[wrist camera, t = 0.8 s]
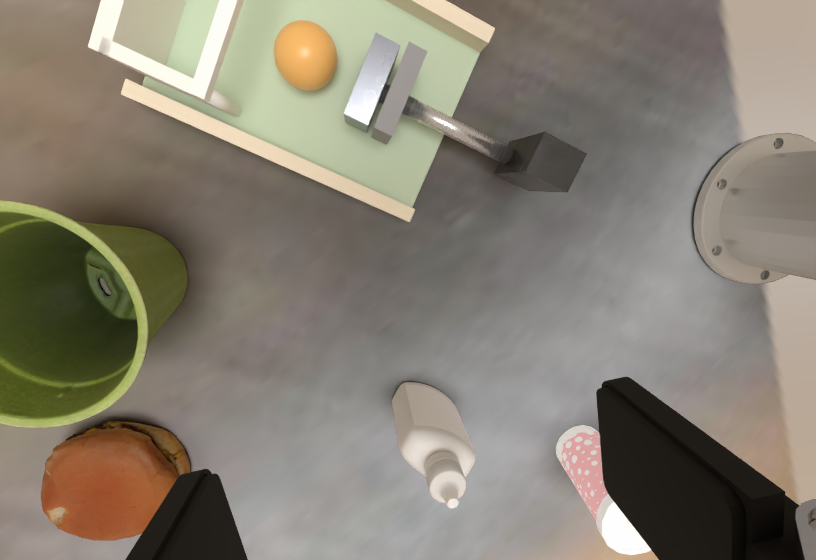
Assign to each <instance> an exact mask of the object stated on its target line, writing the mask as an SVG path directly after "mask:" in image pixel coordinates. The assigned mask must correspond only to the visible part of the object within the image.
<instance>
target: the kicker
mask: <svg viewBox="0 0 816 560" xmlns="http://www.w3.org/2000/svg"><path fill="white" fill-rule="evenodd" d="M399 48H400V45H399V44H397V43H395V42H393V41H391V40H389V39H388V38H386V37H384V36H382V35H380V34H378V33H375V36H374V38H373V41H372V43H371V46H370V48H369V51H368V53H367V56H366V58H365V61H364V64H363V66H362V69H361V71H360V74H359V76H358V79H357V81H356V84H355V86H354V89H353V91H352V94H351V96H350V99H349V101H348V104H347V107H346V109H345V112H344V117H345V121H346V123H347V124H349V125H351V126H353V127H355V128H357V129H360V130H362V131H364V132H366V133H367V131H368V129H369V126H370V124H371V122H372V119H373V117H374V114H375V112H376V109H377V107H378V104H379V102H380V103H382V104H384V101H385V99H386V96H387V94H388V91H389V89H390V87H391V86H389V85H387V82H388V80H389V77H390V75H391V73H392V70H393V68H394V65H395V62H396V59H397V55H398V52H399ZM402 114H404V115H406V116H408V117H410V118H412V119H414V120H416V121H418V122H420V123H422V124H424V125H426V126H428V127H430V128H432V129H434V130H436V131H438V132H440V133H442V134H444V135H446V136H448V137H450V138H452V139H454V140H456V141H458V142H460V143H462V144H464V145H466V146H468V147H470V148H472V149H474V150H476V151H478V152H480V153H482V154H484V155H486V156H488V157H490V158H492V159H494V160H496V161H498V162H500V164H499V166H498V168H497V170H496V172H495V174H496V175H498V176H500V177H502V178H504V179H506V180H508V181H510V182H512V183H514V184H516V185H518V186H520V187H522V188H524V189H526V190H528V191H546V192H568V190H569V188H570V186H571V184H572V182H573V180H574V178H575V176H576V174H577V172H578V170H579V168H580V166H581V164H582V162H583V160H584V158H585V156H586V153H584V152H583V151H581V150H579V149H577V148H575V147H573V146H571V145H569V144H567V143H565V142H564V141H562V140H560V139H558V138H556V137H554V136H552V135H550V134H548V133H546V132H543V133H539V134H536V135H532V136H529V137H525V138H522V139H518V140H515V141H511V142H509V144H508V146H507V145H505V144H503V143H501V142H499V141H497V140H496V139H494V138H492V137H490V136H488V135H486V134H484V133H482V132H480V131H478V130H476V129H474V128H472V127H470V126H468V125H466V124H464V123H462V122H460V121H458V120H456V119H454V118H452V117H450V116H448V115H446V114H444V113H442V112H440V111H438V110H436V109H435V108H433V107H431V106H429V105H427V104H425V103H423V102H421V101H419V100H417V99H415V98H413V97H411V96H409V97H408V99H407V102H406V104H405V107H404V109H403V111H402Z"/></svg>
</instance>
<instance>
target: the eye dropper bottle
mask: <svg viewBox="0 0 816 560" xmlns="http://www.w3.org/2000/svg"><path fill="white" fill-rule="evenodd" d="M392 407H393V414H394V421H395V427H396V434H397V440H398V445H399V449H400V452H401V454H402V456H403V457H404V458H405V459H406V461H407V462H408V463H409V464H410V465H411V466H413V467H414V468H415V469H416V470H418V471H419V472H421V473H422V474H424V475H426V478H427V483H428V487H429V492H430V494H431V496H432V497H433V498H434V499H435V500H437V501H439V502H443V503H446V504H447V506H448V507H449V508H456V507H457V506H458V499H459V498H460V497H461V496H462V495H463V493H464V492H465V489H466V479H465V477H466V476H467V474H468V473H469V472H470V470H471V468H472V467H473V465H474V462H475V458H476V456H475V452H474V450H473V447H472V444H471V442H470V439H469V437H468V435H467V432H466V430H465V428H464V425H463V423H462V421H461V418H460V416H459V414H458V411H457V409H456V407H455V405H454V403H453V402H452V401H451V400H450V399H449V398H448V397H447V396H446V395H445V394H444V393H442V392H441V391H439V390H437V389H436V388H434V387H431V386H429V385H425V384H421V383H415V382H405V383H402V384H401V385H400V386H399V388H398V390H397V392H396V393H395V395H394V397H393V399H392Z"/></svg>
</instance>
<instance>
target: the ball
mask: <svg viewBox="0 0 816 560" xmlns="http://www.w3.org/2000/svg"><path fill="white" fill-rule="evenodd" d="M274 60H275V63H276V66H277V68H278V71H279V72H280V74H281V75H282V77H283V78H284V79H285V80H286V81H287V82H288V83H289V84H291V85H292V86H294V87H296V88H298V89H301V90H307V91H312V90H317V89H320V88H322V87H324V86H325V85H327V84H328V83H329V82H330V80H331V79H332V78H333V76H334V74H335V72H336V69H337V61H338V57H337V50H336V47H335V44H334V42H333V40H332V38H331V36H330V35H329V34H328V32H327V31H326V30H325V29H324V28H322V27H321V26H320V25H318V24H316V23H314V22H311V21H307V20H297V21H293V22H291V23H289V24H287V25H286V26H284V27H283V28H282V29H281V31H280V32H279V33H278V35H277V37H276V40H275V43H274Z"/></svg>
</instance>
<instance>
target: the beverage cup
mask: <svg viewBox="0 0 816 560" xmlns="http://www.w3.org/2000/svg"><path fill="white" fill-rule="evenodd" d="M556 455H557V457H558V459H559V461H560V463H561V464H562V466H563V467H564V469H565V471H566V472H567V474H568V476H569V477H570V479H571V481H572V482H573V484H574V485H575V487H576V489H577V490H578V492H579V494H580V495H581V497H582V498H583V500H584V502H585V503H586V505H587V507H588V508H589V510H590V512H591V513H592V515H593V516H594V518H595V520H596V521H597V528H598V530H599V531H600V533H601V535H602V537H603V538H604V540H605V542H606V544H607V545H608V546H609V547H611V548H612V549H614V550H615V551H617V552H618V553H623V554H629V555H635V554H640V553H645V552H648V551H650V550H651V549H650V547H649V546H648V545H647V543H646V542H645V541H644V540H643V538H642V537H641V536H640V534H639V533H638V532H637V531H636V529H635V528H634V527H633V525H632V524H631V523H630V522H629V520H628V519H627V518H626V517H625V515H624V514H623V513H622V511H621V510H620V509H619V508H618V506H617V505H616V504H615V502H614V501H613V500H612V499H611V497H610V496H609V494H608V492H607V491H606V488H605V486H604V482H603V473H602V460H601V447H600V434H599V432H598V431H596V430H595V429H594V428H592V427H590V426H585V425H581V426H575V427H572V428H571V429H569V430H567V431H565V433H564V434H563V435H562V436H561V437H560V438H559V440H558V443H557V445H556Z"/></svg>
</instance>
